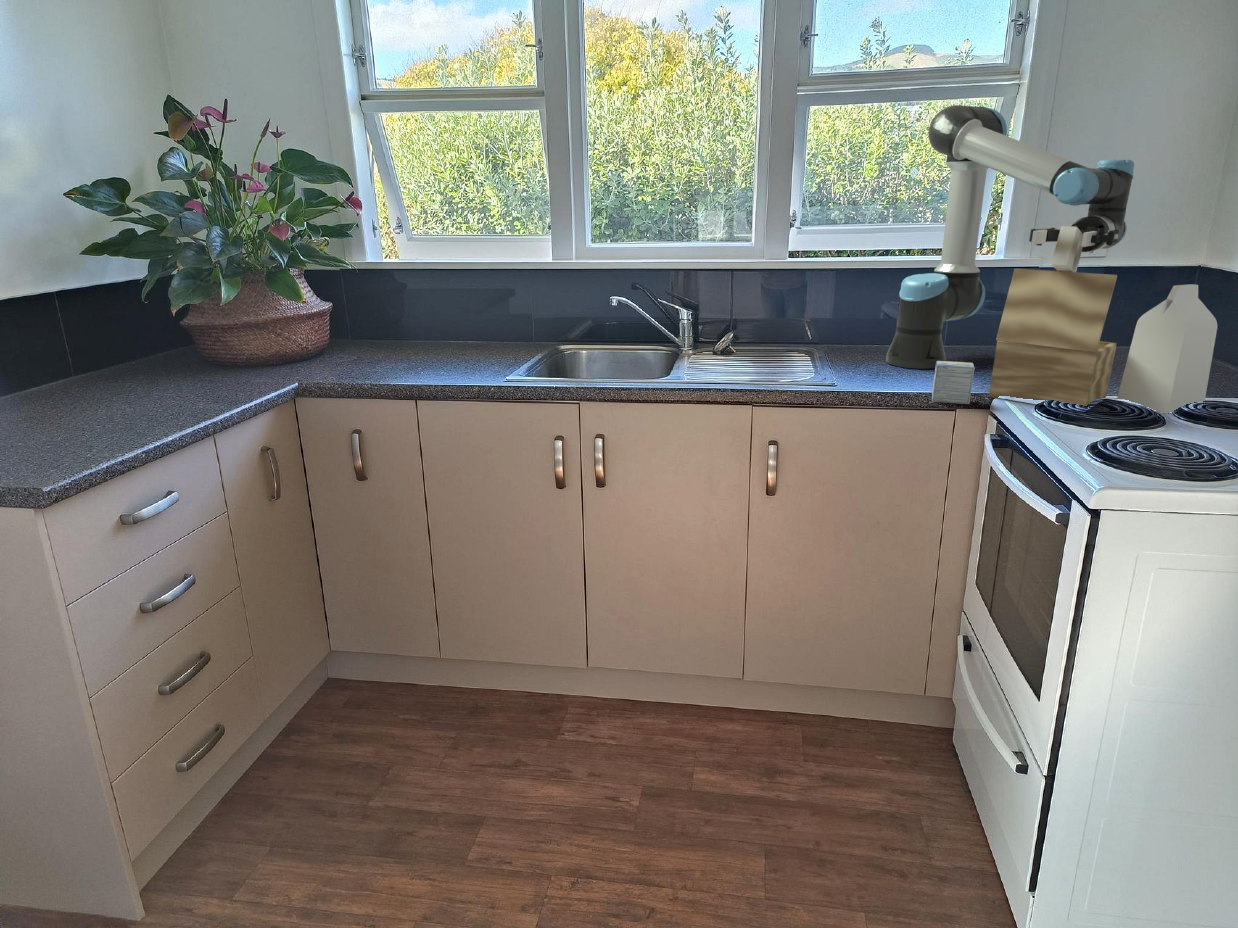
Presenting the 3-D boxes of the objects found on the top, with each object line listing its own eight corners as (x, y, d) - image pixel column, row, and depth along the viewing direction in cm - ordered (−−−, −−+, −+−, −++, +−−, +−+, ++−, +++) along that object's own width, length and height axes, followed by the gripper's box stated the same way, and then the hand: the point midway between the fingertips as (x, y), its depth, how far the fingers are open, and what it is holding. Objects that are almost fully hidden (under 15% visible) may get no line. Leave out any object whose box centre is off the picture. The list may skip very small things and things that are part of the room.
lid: (1098, 354, 169) (1090, 348, 163) (1000, 342, 182) (989, 336, 176) (1130, 239, 167) (1123, 228, 161) (1028, 235, 180) (1018, 225, 174)
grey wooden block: (968, 400, 182) (973, 362, 179) (969, 405, 178) (975, 366, 175) (931, 397, 185) (936, 360, 182) (931, 402, 181) (936, 364, 178)
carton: (1084, 413, 172) (1096, 353, 167) (988, 397, 185) (997, 341, 180) (1105, 399, 182) (1116, 343, 178) (1013, 385, 196) (1022, 332, 191)
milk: (1166, 414, 170) (1195, 289, 162) (1116, 401, 180) (1140, 283, 172) (1203, 408, 175) (1233, 286, 166) (1151, 396, 185) (1177, 281, 176)
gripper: (1142, 253, 174) (1114, 260, 158) (1036, 248, 188) (1001, 254, 173) (1150, 217, 171) (1122, 221, 156) (1042, 215, 185) (1006, 218, 170)
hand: (1058, 238), depth 164 cm, fingers open, 9 cm apart
